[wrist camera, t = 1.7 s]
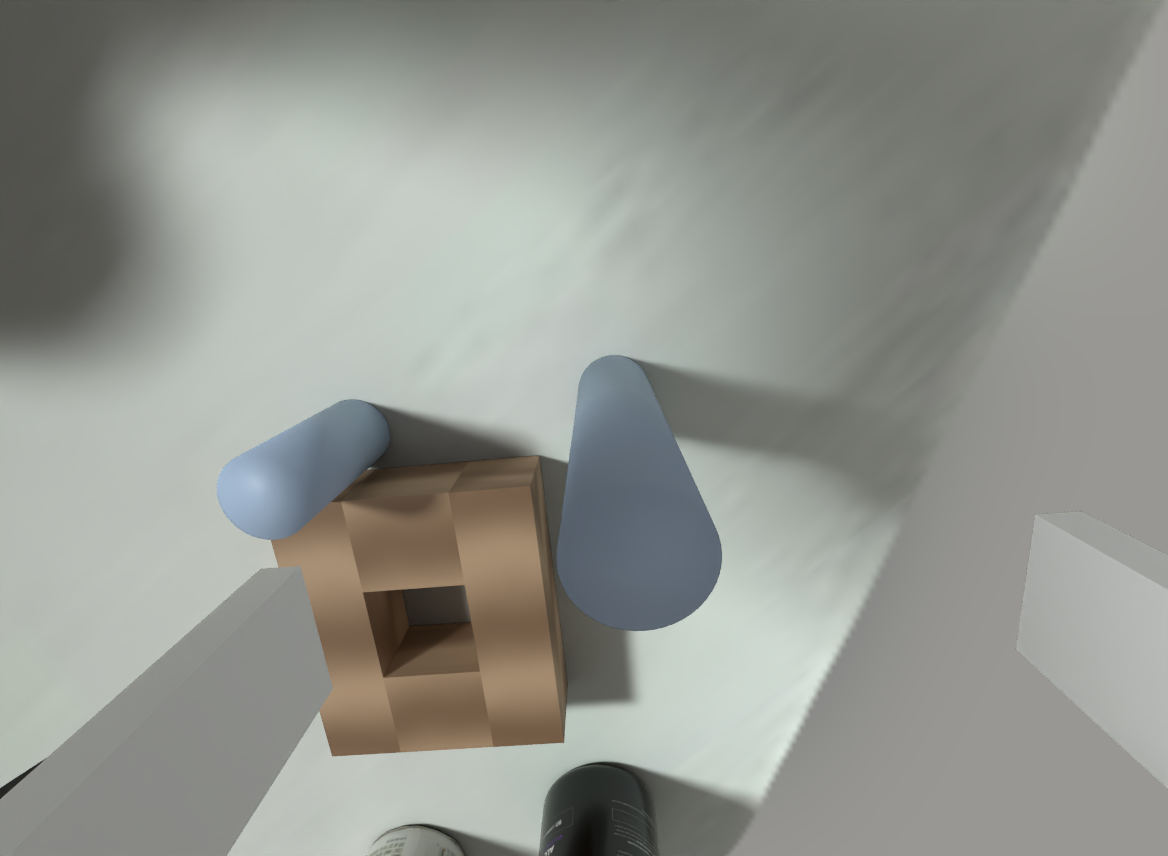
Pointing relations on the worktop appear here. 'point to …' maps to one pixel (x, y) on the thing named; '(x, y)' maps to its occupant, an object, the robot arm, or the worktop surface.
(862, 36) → the worktop surface
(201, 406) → the worktop surface
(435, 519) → the collar block
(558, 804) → the supplement bottle
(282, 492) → the short dowel
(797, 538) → the worktop surface
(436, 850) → the spray can
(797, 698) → the worktop surface
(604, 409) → the long dowel
